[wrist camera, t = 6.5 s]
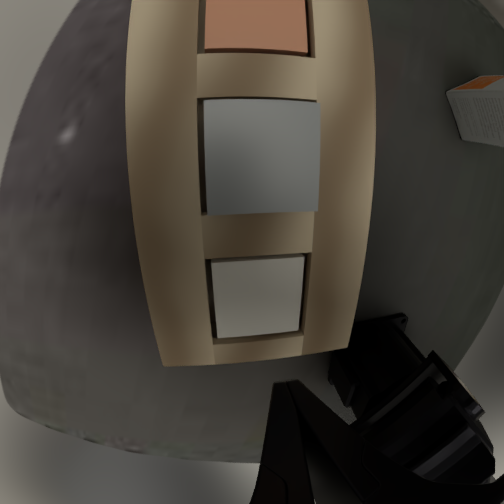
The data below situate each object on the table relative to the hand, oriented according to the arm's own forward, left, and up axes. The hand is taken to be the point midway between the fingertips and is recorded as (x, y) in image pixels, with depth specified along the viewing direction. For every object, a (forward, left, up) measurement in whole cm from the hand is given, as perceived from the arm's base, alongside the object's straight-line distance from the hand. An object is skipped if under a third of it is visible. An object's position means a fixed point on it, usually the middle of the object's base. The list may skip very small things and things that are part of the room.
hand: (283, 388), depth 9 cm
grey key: (0, -7, -7) cm, 10 cm away
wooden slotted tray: (0, -7, -10) cm, 12 cm away
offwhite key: (0, 0, -8) cm, 8 cm away
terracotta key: (0, -14, -8) cm, 16 cm away
